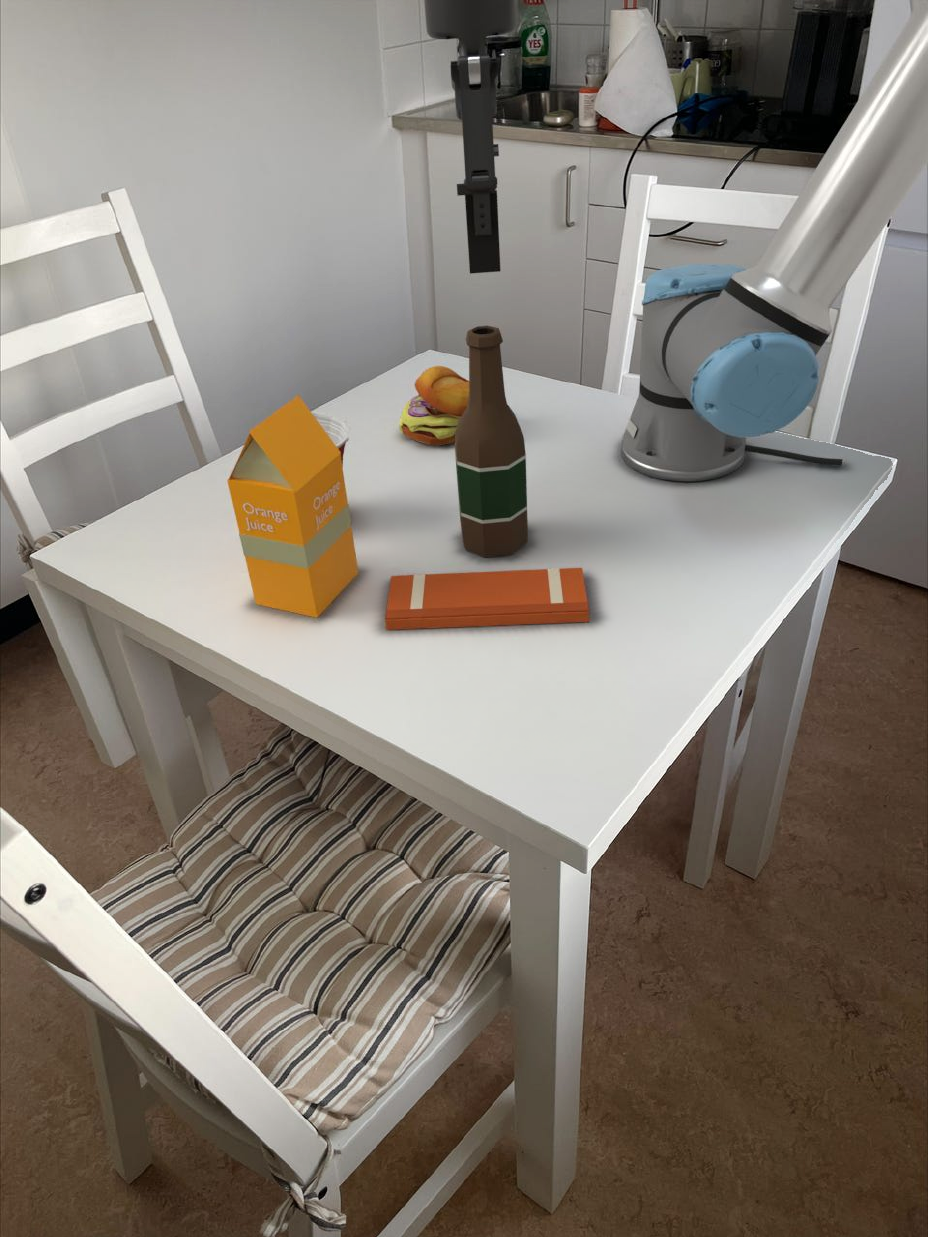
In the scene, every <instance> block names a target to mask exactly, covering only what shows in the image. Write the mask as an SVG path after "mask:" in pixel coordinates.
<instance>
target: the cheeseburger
mask: <svg viewBox="0 0 928 1237" xmlns="http://www.w3.org/2000/svg"><path fill="white" fill-rule="evenodd" d="M414 388H415V391H416V392H417V395H415V396H413V397H412V398H411V399H410V400H408V401H407V402H406V403H405V405H404V407H403V410H402V412H401V414H400V420H399V422H398V428H399V430H400V432H401V434H402V435H403V436H404V435H405V436H406V437H407V438H409V439H411V440H413V441H417V442H419V443H423V444H426V445H431V446H444V445H448V444H451V443H455V432H456V428H457V425H458V422H459V419H460V417H461V416H462V414H463V413H464V411H465V410H466V408H467V406H468V398H469V379H466V378H464V377H462V376H461V375H460V374H458V373H457V372H456V371H455V370H453V369H451V368H450V367H446V366H443V365H435V366H431V367H428V368H427V369H425V370H424V371H423V372H422V373H421V374H420V375H419V376H418V378H417V379H415V382H414Z"/></svg>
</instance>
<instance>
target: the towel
mask: <svg viewBox="0 0 928 1237" xmlns="http://www.w3.org/2000/svg"><path fill="white" fill-rule="evenodd" d="M384 615H385V616H384V623H385V630H386V631H391V630H393V631H394V630H417V629H441V628H442V629H443V628H444V629H445V628H468V627H491V626H492V627H493V626H496V627H497V626H516V625H517V626H518V625H541V624H543V625H545V624H567V623H589V621H590V608H589V602H588V596H587V590H586V583H585V577H584V572H583V567H563V568H559V567H558V568H544V569H543V568H541V569H519V570H518V569H517V570H516V569H515V570H493V571H491V570H490V571H469V572H445V573H421V574H417V573H416V574H402V575H400V574H398V575H391V576H390V583H389V589H388V596H387V603H386V610H385V614H384Z"/></svg>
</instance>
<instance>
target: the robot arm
mask: <svg viewBox="0 0 928 1237" xmlns="http://www.w3.org/2000/svg"><path fill="white" fill-rule="evenodd" d="M423 4H424V15H425V28H426V29H425V30H426V33H427V35H428V36H429V38H432V39H435V40H454V39H455V40H458V43H457V46H456V51H457V53H458V54H459V56H458V57H457V60H452V61H450V66H449V67H450V80H451V88H452V89H453V90H454V102H455V103H454V104H455V115H456V117H457V119H459V120H461V124H462V128H461V129H462V140H463V141H462V142H463V144H462V146H463V162H464V163H463V164H464V175H465V176H464V177H465V178H464V179H463V183H456V192H457V193H456V194H457V195H456V196H457V197H459V196H464V201H465V203H464V204H465V218H466V219H465V220H466V233H467V234H466V236H467V249H468V251H467V252H468V267H469V274H470V275H471V274H484V273H485V274H486V273H498V272H499V273H500V272H501V251H500V249H501V248H500V229H499V228H500V227H499V209H498V208H499V206H498V190H497V188H498V177H497V176H496V166H495V163H496V162H495V158H496V157H499V156H500V153H499V151H500V150H499V143H494V128H493V127H494V126H493V124H494V123H493V118H495V116H496V115H497V113H498V112H497V111H498V110H497V109H498V107H497V106H498V103H497V102H498V101H497V86H498V85H499V69H498V60H497V57H491V56H490V54H489V53H488V50H489V48H488V47H489V46H488V43H487V37H491V36H502V35H506V34H510V33H512V32H514V31H515V29H516V28H517V25H518V12H517V11H518V10H517V8H518V7H517V0H424V3H423ZM909 4H910V5H909V6H910V15H909V17H908V19H907V21H906V23H905V24H904V26H903V27H902V29H901V31H900V32H899V35H898V36H897V37H896V38H895V41H894V42H893V44H892V45H891V47H890V49H889V50H888V52H887V54H886V55H885V57H884V59H883V60H882V62H881V63H880V64H879V67H878V68H877V69H876V71H875V73H874V74H873V76H872V78H871V79H870V81H869V83H868V84H867V86H866V87H865V89H864V90H863V92H862V93H861V96H860V97H859V99H858V100H857V101H856V103H855V105H854V106H853V108H852V110H851V112H850V113H849V114H848V117H847V118H846V120H845V121H844V123H843V124H842V126H841V128H840V129H839V131H838V133H837V134H836V135H835V137H834V139H833V141H832V142H831V144H830V145H829V147H828V148H827V150H826V152H825V153H824V155H823V157H822V158H821V160H820V161H819V162H818V164H817V166H816V168H815V170H814V171H813V172H812V174H811V176H810V178H809V179H808V181H807V182H806V184H805V186H804V188H803V189H802V190H801V192H800V194H799V195H798V197H797V198H796V200H795V201H794V203H793V205H792V207H791V208H790V210H789V211H788V213H787V215H786V216H785V218H784V219H783V221H782V223H781V224H780V226H779V227H778V229H777V231H776V232H775V234H774V236H773V237H772V239H771V241H770V242H769V244H768V245H767V247H766V248H765V250H764V252H763V253H762V255H761V256H760V258H759V260H758V261H757V263H756V264H755V265H754V266H752V267H751V268H747V269H746V268H744V267H743V266H739V265H733V264H727V263H723V264H722V263H697V264H696V263H695V264H684V265H677V266H671V267H665V268H662V269H659V270H657V271H655V272H652V274H650V275H649V276H648V277H647V279H646V281H645V284H644V285H645V286H644V293H643V299H642V301H641V306H642V322H641V323H642V324H641V340H640V341H641V342H640V345H641V346H640V366H639V368H640V369H639V386H638V388H639V389H638V397H637V399H636V402H635V405H634V407H633V410H632V412H631V415H630V417H629V418H628V421H627V424H626V426H625V431H624V432H623V435H622V441H621V458H622V459H623V461H624V462H625V463H626V464H627V466H629V467H630V468H632V469H633V470H634V471H637V472H638V473H641V474H643V475H645V476H649V477H651V478H655V479H660V480H665V481H673V482H699V481H701V482H702V481H708V480H712V479H713V480H714V479H717V478H720V477H721V478H722V477H723V476H726V475H729V474H731V473H733V472H735V471H736V470H737V469H738V468H740V467H741V466H742V464H743V463H744V461H745V458H746V452H748V453H754V454H760V455H766V456H772V457H779V458H783V459H788V460H794V461H797V462H799V461H800V462H803V463H804V462H805V463H809V464H816V465H824V466H839V467H841V466H842V465H843V458H829V457H820V456H813V455H807V454H802V453H797V452H791V451H786V450H781V449H774V448H769V447H762V446H757V445H751V444H749V445H748V444H747V443H746V441H747V440H746V439H747V438H748V439H749V438H757V437H761V436H763V435H766V434H772V433H776V432H778V431H779V430H782V429H783V428H784V427H786V426H788V425H789V424H791V423H792V422H794V421H795V420H796V419H798V417H800V415H801V414H802V413H803V412H804V411H805V410H806V408H807V407H808V406H809V404H810V403H811V402H812V400H813V398H814V396H815V394H816V392H817V389H818V385H819V380H820V378H819V374H818V372H819V369H820V366H819V363H818V359H817V354H818V353H819V352H820V350H821V349H822V347H823V346H824V344H825V343H826V341H827V340H828V338H829V337H830V335H831V333H832V332H833V331H832V330H833V329H832V324H831V318H830V309H831V307H832V306H833V304H834V302H835V301H836V300H837V298H838V297H839V295H840V294H841V292H842V291H843V289H844V288H845V287H846V285H847V283H848V282H849V280H850V279H851V277H852V276H853V274H854V273H855V272H856V270H857V268H858V267H859V266H860V264H862V263H861V262H862V261H863V260H864V258H865V256H866V255H867V254H868V252H869V251H870V250H871V248H872V246H873V245H874V244H875V242H876V240H877V239H878V237H879V236H880V235H881V233H882V231H883V230H884V229H885V227H886V225H887V224H888V223H889V221H890V220H891V219H892V216H893V215H894V214H895V213H896V211H897V209H898V208H899V206H900V205H901V203H902V202H903V200H904V199H905V198H906V196H907V194H908V193H909V192H910V190H911V189H912V187H913V185H914V184H915V183H916V181H917V180H918V178H919V176H920V175H921V174H922V172H923V171H924V169H925V168H926V166H927V165H928V0H909Z"/></svg>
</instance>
